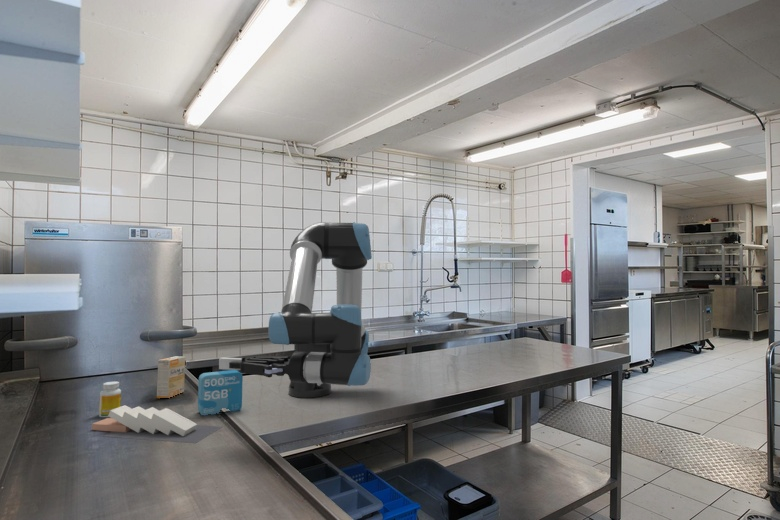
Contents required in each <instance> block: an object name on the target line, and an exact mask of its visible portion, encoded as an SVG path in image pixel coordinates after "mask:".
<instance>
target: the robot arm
mask: <svg viewBox="0 0 780 520" xmlns="http://www.w3.org/2000/svg"><path fill="white" fill-rule="evenodd" d="M372 255H373V254H372V246H371V237H370V229H369V226H368V225H367V224H366V223H359V222H355V221H354V222H323V221H321V222H316V223H313V224H311V225H309V226H307V227H305V228H304V229H302V230H301V231H300V232H299V233H298V234H297V235H296V236H295V238H294V240H293V241H292V243H291V246H290V249H289V258H290V259H291V261H290V265H289V267H290V268H289V272H288V277H287V282H286V286H285V291H284V295H283V296H284V297H283V301H282V306H281V310H280V311H281V312H273V313H272V314H271V315H270V317H269V320H268V327H267V328H268V329H267V330H268V332H267V333H268V339H269V341H270V342H271V343H272V344H274V345H286V346H289V345H293V346H294V347H293V348H294V350H293V351H294V352H293V353H292V354H291V355H287V356H255V355H254V356H252V357H247V358H246V357H244V356H243V357H226V356H225V357H224V356H222V357H219V358H218V370H226V371H228V370H237V371H239V372H240V373H241V374H247V375H248V374H249V375H256V376H263V377H266V378H272V377H273V375H276V376H278V377H283V376H284V375H287V376H288V378H289V381H290V382H289V385H288V395H289V396H292V397H295V398H304V399H305V398H307V399H308V398H310V399H311V398H320V397H323V396H326V395H329V394H331V393H332V385H340V386H348V387H351V386H358V387H359V386H365V385H367V383H369V380H370V378H371V371H372V363H371V358H370V355H368V351H369V343H370V342H369V341H370V333H369V330H366V328H365V326H364V324H363V323H362V303H363V302H362V301H363V300H362V299H363V296H362V295H363V293H362V292H363V269H364V268H365V267H366V266H367V264H368V261H370V260H372V259H373V257H372ZM324 259H325V260H331V265H332V266H333V267H334V268H335V269H336V270H335V271H336V304H333V305H331V307H330V311H329V312H313V304H314V295H315V287H316V280H317V272H318V265H319V263H320V262H321V260H324Z"/></svg>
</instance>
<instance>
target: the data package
mask: <svg viewBox="0 0 780 520" xmlns="http://www.w3.org/2000/svg"><path fill="white" fill-rule="evenodd" d="M243 377H244V375H243V373H240V371H239V370H220V371H212V372H211V371H209V372H203V373H201V374H200V375H199V377H198V386H197V387H198V390H197V391H198V392H197V393H198V394H197V410H198V412H199V414H200V415H201V416H202V415H204V416H209V415H208V414H211V415H217V414H220V413H219V412H220V410H221V409H222V408H226V409H229V410H230V412H236V411H237V412H238V411H240V410H241V409H242V407H243V382H244V381H243ZM216 413H217V414H216Z"/></svg>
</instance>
